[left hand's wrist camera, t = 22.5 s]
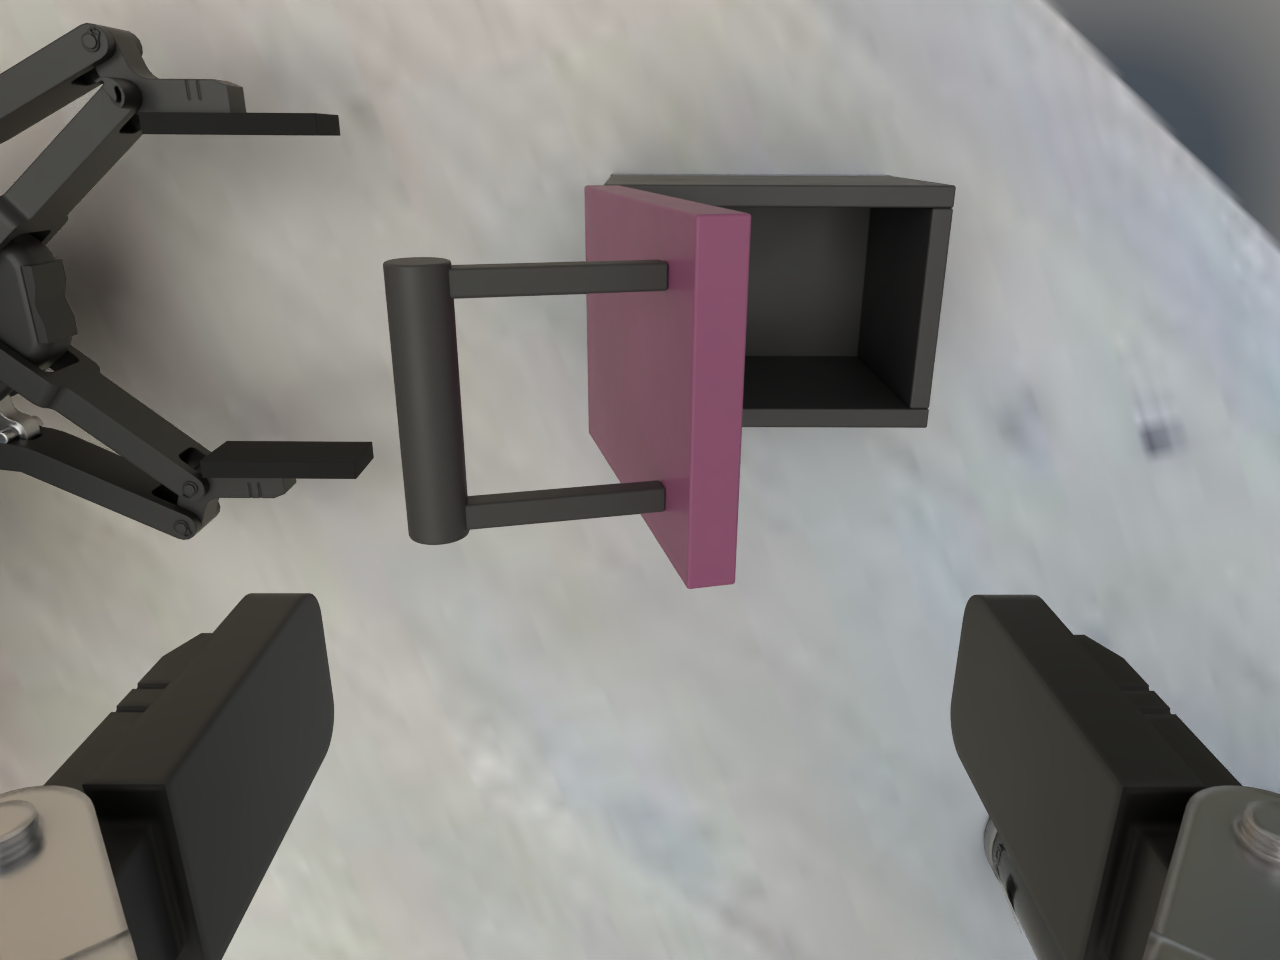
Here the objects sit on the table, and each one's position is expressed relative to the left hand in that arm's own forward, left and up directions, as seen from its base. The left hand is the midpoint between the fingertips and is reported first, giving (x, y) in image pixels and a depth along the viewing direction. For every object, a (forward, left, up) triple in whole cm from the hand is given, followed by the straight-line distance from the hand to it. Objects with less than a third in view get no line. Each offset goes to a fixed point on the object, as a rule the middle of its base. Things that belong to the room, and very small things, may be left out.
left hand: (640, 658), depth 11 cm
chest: (-5, 0, -35) cm, 35 cm away
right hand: (+12, +1, -27) cm, 30 cm away
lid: (-1, 0, -17) cm, 18 cm away
